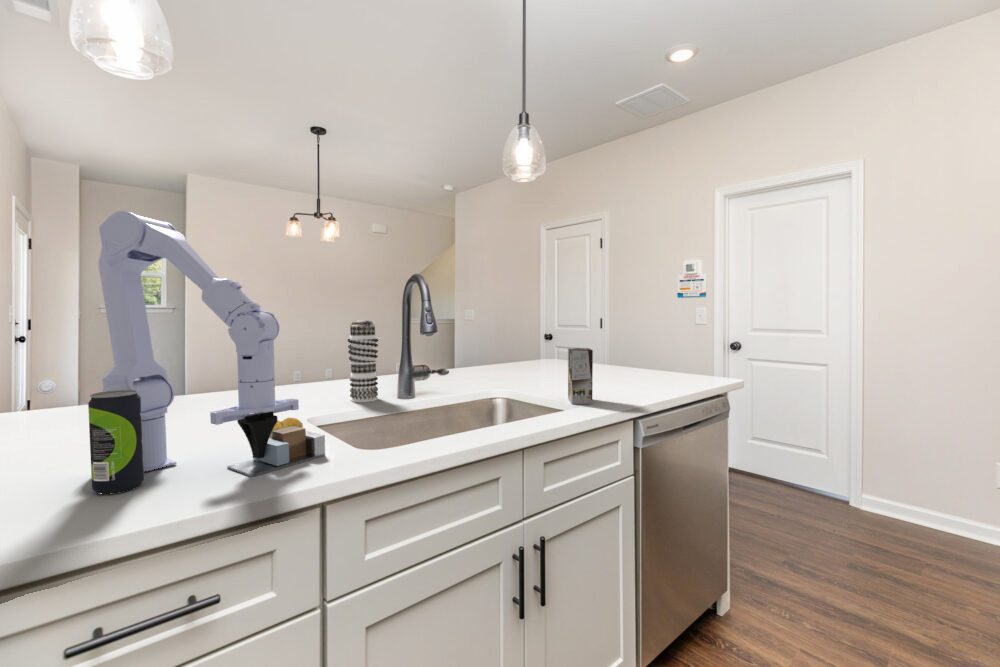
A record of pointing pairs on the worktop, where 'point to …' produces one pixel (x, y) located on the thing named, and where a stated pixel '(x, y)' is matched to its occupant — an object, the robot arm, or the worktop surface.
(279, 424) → the bread roll
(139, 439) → the beverage can
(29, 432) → the worktop surface
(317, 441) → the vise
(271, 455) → the sliding jaw
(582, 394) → the coffee box
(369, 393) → the decorative candle
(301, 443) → the walnut block
